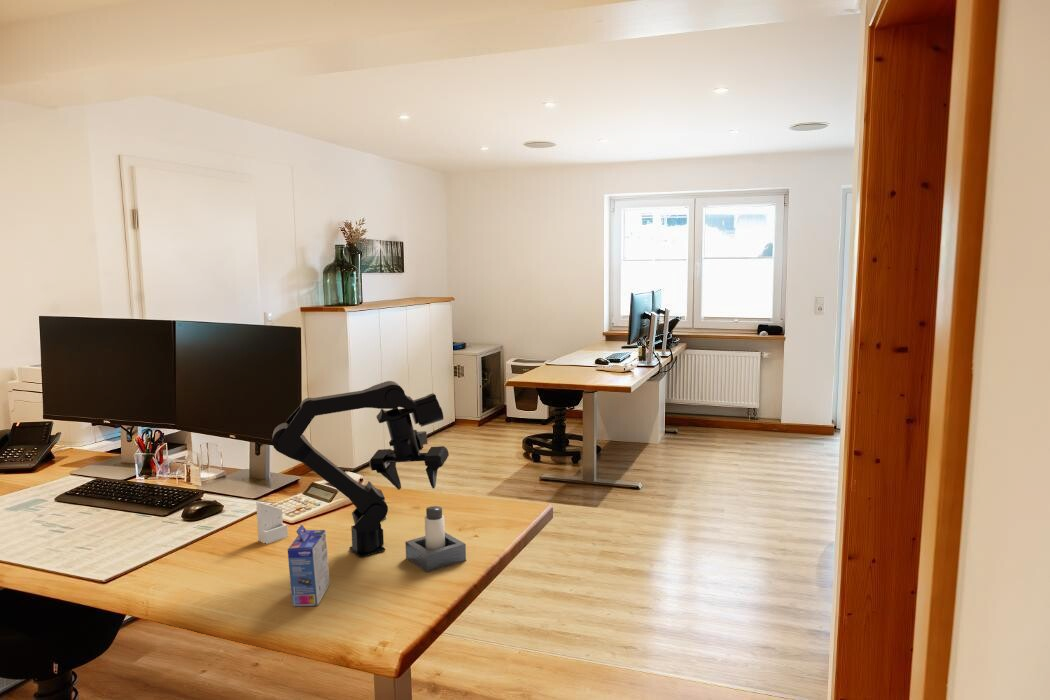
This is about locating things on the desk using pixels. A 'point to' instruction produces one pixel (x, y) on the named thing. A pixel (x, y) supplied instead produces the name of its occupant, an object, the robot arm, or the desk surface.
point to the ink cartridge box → (308, 567)
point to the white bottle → (434, 528)
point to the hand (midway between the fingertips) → (416, 488)
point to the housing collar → (435, 553)
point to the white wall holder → (270, 523)
